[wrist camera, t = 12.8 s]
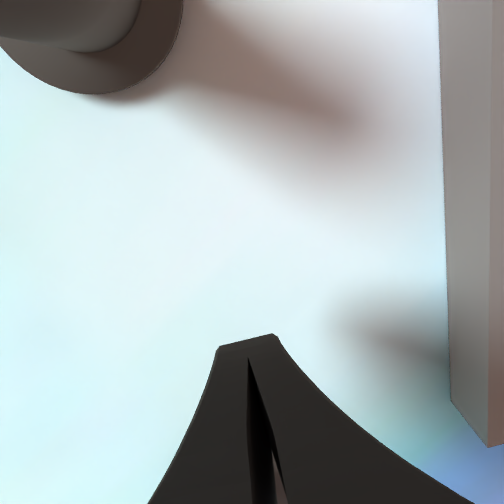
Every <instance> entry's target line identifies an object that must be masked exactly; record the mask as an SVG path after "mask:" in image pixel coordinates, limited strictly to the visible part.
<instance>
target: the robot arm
mask: <svg viewBox="0 0 504 504" xmlns="http://www.w3.org/2000/svg"><path fill="white" fill-rule="evenodd" d="M272 452H273V455H272ZM273 456H274V459H275V462H276V465H277V469H278V472H279V475H280V478H281V482H282V485H283V488H284V492H285V495H286V498H287V501H288V504H474V503H473V502H471V501H469V500H467V499H466V498H464V497H462V496H460V495H459V494H457V493H456V492H454V491H452V490H451V489H449V488H448V487H446V486H445V485H443V484H441V483H440V482H438V481H437V480H435V479H434V478H432V477H430V476H429V475H427V474H426V473H424V472H423V471H421V470H419V469H418V468H416V467H415V466H413V465H412V464H410V463H408V462H407V461H406V460H404V459H403V458H401V457H400V456H399V455H397V454H396V453H394V452H393V451H392V450H390V449H389V448H388V447H386V446H385V445H383V444H382V443H381V442H379V441H378V440H377V439H376V438H374V437H373V436H372V435H370V434H369V433H368V432H367V431H365V430H364V429H363V428H362V427H360V426H359V425H358V424H357V423H356V422H354V421H353V420H352V419H351V418H350V417H349V416H347V415H346V414H345V413H344V412H343V411H342V410H341V409H340V408H339V407H338V406H336V405H335V404H334V403H333V402H332V401H331V400H330V399H329V398H328V397H327V396H326V395H325V394H324V393H323V392H322V391H321V390H320V389H319V388H318V387H317V386H316V385H315V384H314V383H313V382H312V381H311V380H310V379H309V377H308V376H307V375H306V374H305V373H304V372H303V371H302V370H301V369H300V368H299V366H298V365H297V364H296V363H295V361H294V360H293V359H292V358H291V356H290V355H289V354H288V352H287V351H286V350H285V348H284V347H283V345H282V344H281V342H280V340H279V338H278V337H277V336H276V335H274V334H272V333H271V334H267V335H263V336H259V337H255V338H251V339H247V340H243V341H238V342H234V343H230V344H226V345H222V346H219V348H218V349H217V351H216V353H215V357H214V361H213V365H212V368H211V371H210V374H209V377H208V380H207V383H206V386H205V389H204V391H203V394H202V396H201V399H200V401H199V404H198V406H197V409H196V411H195V414H194V416H193V419H192V421H191V423H190V425H189V427H188V429H187V431H186V434H185V436H184V438H183V440H182V442H181V444H180V446H179V448H178V450H177V452H176V454H175V456H174V458H173V460H172V462H171V464H170V466H169V468H168V469H167V471H166V473H165V475H164V477H163V478H162V480H161V482H160V484H159V485H158V487H157V489H156V490H155V492H154V494H153V496H152V497H151V499H150V500H149V502H148V504H278V502H277V493H276V483H275V474H274V465H273Z"/></svg>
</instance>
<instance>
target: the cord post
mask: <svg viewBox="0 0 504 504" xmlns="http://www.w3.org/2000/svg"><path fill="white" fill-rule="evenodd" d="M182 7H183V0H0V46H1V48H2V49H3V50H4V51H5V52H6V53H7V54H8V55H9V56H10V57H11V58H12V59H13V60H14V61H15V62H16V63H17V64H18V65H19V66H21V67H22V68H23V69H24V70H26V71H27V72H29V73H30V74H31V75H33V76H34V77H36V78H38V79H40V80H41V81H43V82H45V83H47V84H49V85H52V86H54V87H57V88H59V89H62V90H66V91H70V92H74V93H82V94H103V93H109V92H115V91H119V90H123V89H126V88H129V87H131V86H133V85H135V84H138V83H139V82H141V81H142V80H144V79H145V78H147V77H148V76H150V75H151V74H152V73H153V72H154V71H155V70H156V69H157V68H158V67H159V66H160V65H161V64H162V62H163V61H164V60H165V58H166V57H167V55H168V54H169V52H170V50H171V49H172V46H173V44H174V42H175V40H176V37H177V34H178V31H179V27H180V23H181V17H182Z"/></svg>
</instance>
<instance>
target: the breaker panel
mask: <svg viewBox="0 0 504 504" xmlns="http://www.w3.org/2000/svg"><path fill="white" fill-rule="evenodd" d="M438 17H439V48H440V79H441V110H442V141H443V172H444V203H445V234H446V265H447V296H448V327H449V358H450V389H451V402H452V403H453V404H454V406H455V407H456V408H457V409H458V411H459V412H460V413H461V415H462V416H463V417H464V418H465V420H466V421H467V422H468V424H469V425H470V426H471V427H472V429H473V430H474V431H475V433H476V434H477V435H478V436H479V438H480V439H481V440H482V442H483V443H484V444H485V445H486V447H487V448H489V447H493V446H497V445H501V444H504V0H438Z"/></svg>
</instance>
